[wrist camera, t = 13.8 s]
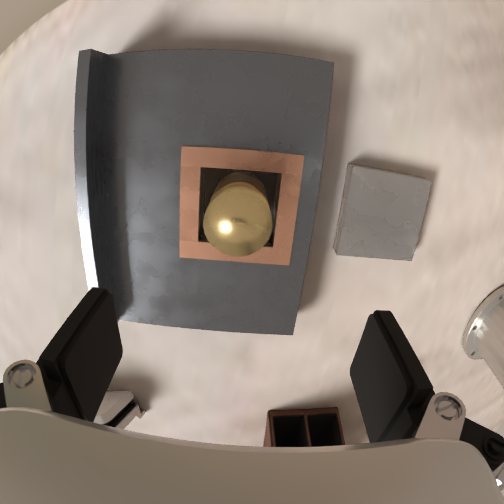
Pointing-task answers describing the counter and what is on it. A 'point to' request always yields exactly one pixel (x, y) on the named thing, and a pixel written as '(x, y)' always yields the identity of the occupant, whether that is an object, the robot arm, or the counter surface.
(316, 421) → the letter holder
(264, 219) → the barrel peg
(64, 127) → the counter surface
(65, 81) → the counter surface
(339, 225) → the gray square slab
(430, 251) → the counter surface
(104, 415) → the grey rounded block
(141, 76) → the plate
